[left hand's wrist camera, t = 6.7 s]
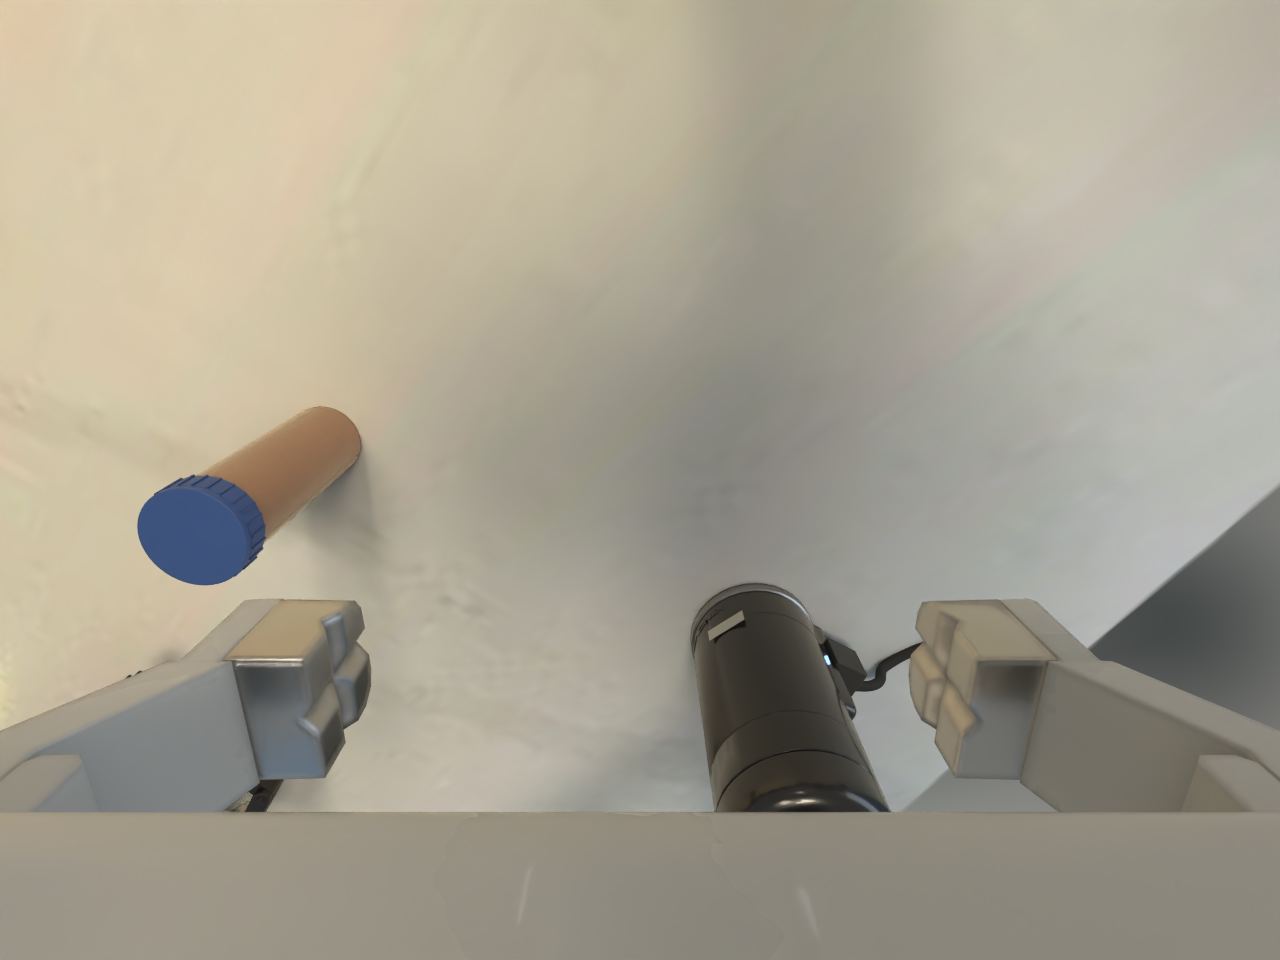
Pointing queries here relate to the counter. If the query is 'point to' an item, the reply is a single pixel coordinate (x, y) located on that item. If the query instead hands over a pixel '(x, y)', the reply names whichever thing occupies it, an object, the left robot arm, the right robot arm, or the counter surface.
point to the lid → (201, 529)
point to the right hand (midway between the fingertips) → (198, 703)
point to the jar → (292, 463)
